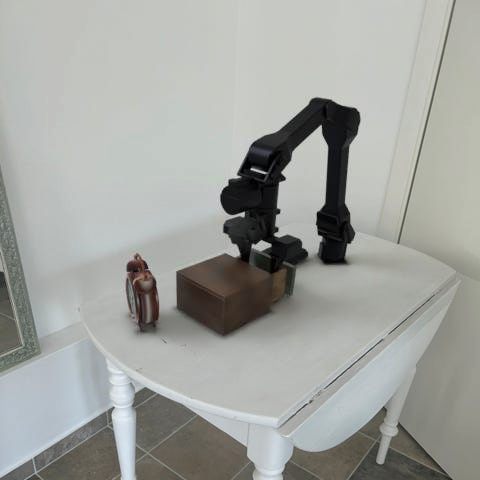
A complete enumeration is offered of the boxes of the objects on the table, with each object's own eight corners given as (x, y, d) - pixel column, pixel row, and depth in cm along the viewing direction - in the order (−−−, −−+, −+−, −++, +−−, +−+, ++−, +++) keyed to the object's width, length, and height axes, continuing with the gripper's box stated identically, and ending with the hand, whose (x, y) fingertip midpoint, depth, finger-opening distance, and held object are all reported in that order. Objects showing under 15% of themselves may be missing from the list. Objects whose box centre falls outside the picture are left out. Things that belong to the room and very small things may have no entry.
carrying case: (279, 247, 137) (246, 262, 127) (280, 237, 135) (246, 251, 126) (310, 259, 131) (278, 275, 122) (312, 248, 130) (279, 264, 120)
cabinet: (224, 288, 114) (225, 252, 110) (270, 311, 106) (274, 275, 101) (176, 308, 105) (175, 271, 100) (223, 336, 97) (224, 297, 92)
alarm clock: (126, 311, 103) (121, 246, 95) (149, 307, 105) (145, 244, 97) (138, 338, 95) (133, 269, 87) (162, 334, 96) (159, 266, 88)
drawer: (254, 273, 120) (256, 246, 116) (296, 293, 112) (299, 265, 108) (211, 292, 110) (211, 263, 107) (253, 314, 103) (256, 284, 99)
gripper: (205, 200, 101) (204, 267, 109) (272, 226, 91) (266, 297, 99) (241, 190, 108) (238, 254, 116) (307, 213, 98) (299, 281, 106)
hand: (258, 271), depth 109 cm, fingers open, 8 cm apart
